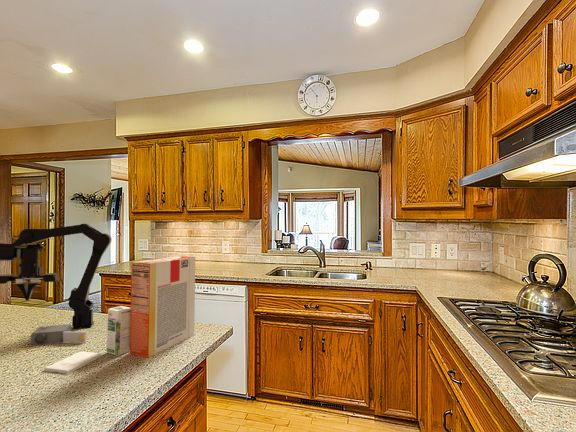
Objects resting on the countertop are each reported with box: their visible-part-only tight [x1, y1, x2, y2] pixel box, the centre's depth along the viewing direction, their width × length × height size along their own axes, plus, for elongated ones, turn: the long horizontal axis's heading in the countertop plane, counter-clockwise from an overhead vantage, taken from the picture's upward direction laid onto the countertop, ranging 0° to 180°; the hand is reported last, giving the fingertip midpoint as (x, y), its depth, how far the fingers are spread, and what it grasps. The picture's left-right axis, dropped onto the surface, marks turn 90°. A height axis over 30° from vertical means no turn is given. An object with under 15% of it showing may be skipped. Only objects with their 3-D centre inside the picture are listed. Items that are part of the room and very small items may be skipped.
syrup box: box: [106, 305, 131, 357], centre depth 110 cm, size 6×6×14 cm
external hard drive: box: [43, 350, 102, 375], centre depth 100 cm, size 2×8×12 cm
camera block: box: [30, 323, 72, 346], centre depth 120 cm, size 10×9×5 cm
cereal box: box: [129, 255, 196, 358], centre depth 118 cm, size 23×8×30 cm, turn 158°
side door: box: [60, 331, 87, 343], centre depth 117 cm, size 2×9×4 cm, turn 92°
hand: (27, 300), depth 129 cm, fingers closed
